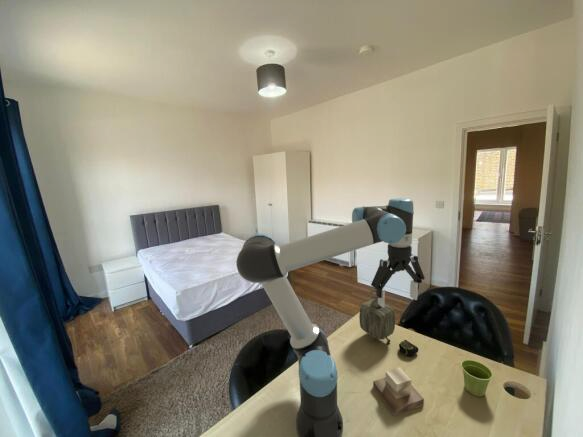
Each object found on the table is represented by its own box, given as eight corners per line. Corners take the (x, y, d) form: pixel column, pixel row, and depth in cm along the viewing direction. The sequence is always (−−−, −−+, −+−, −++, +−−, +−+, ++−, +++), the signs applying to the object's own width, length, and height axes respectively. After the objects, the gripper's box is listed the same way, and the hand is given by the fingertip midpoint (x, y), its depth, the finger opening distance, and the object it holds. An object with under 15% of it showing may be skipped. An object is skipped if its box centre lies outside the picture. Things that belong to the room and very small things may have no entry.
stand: (394, 415, 84) (394, 409, 83) (373, 386, 95) (373, 381, 94) (423, 404, 87) (423, 398, 86) (399, 378, 98) (399, 372, 98)
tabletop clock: (394, 343, 118) (396, 294, 113) (382, 351, 113) (383, 300, 108) (369, 328, 130) (370, 283, 125) (357, 335, 125) (357, 288, 120)
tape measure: (419, 354, 110) (419, 346, 110) (408, 360, 107) (409, 352, 107) (405, 345, 116) (406, 338, 116) (395, 350, 113) (395, 343, 113)
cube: (396, 399, 87) (396, 384, 86) (385, 385, 92) (385, 371, 91) (410, 394, 88) (411, 379, 87) (398, 381, 94) (399, 367, 93)
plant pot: (463, 397, 89) (465, 376, 88) (456, 376, 98) (457, 357, 96) (494, 404, 86) (497, 382, 84) (484, 382, 95) (487, 362, 93)
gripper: (374, 252, 78) (373, 314, 82) (438, 242, 84) (434, 300, 88) (361, 246, 85) (360, 303, 89) (421, 237, 91) (418, 290, 95)
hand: (397, 301), depth 89 cm, fingers open, 13 cm apart
